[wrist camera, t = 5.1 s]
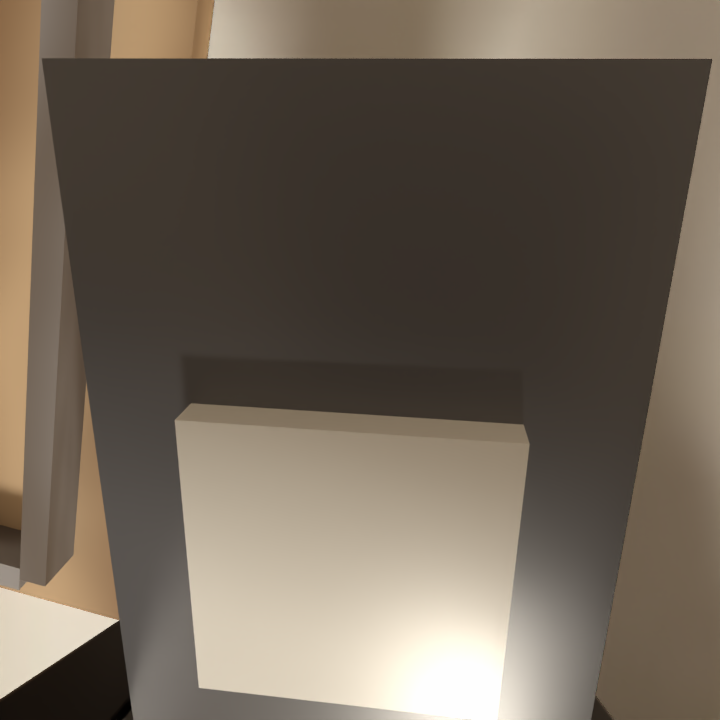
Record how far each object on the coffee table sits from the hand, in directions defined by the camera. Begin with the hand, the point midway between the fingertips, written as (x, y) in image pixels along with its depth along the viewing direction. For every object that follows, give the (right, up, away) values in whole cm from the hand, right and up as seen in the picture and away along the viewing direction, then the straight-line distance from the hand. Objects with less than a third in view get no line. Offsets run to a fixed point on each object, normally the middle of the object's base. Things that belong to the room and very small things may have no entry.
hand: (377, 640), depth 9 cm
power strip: (0, 0, +1) cm, 1 cm away
